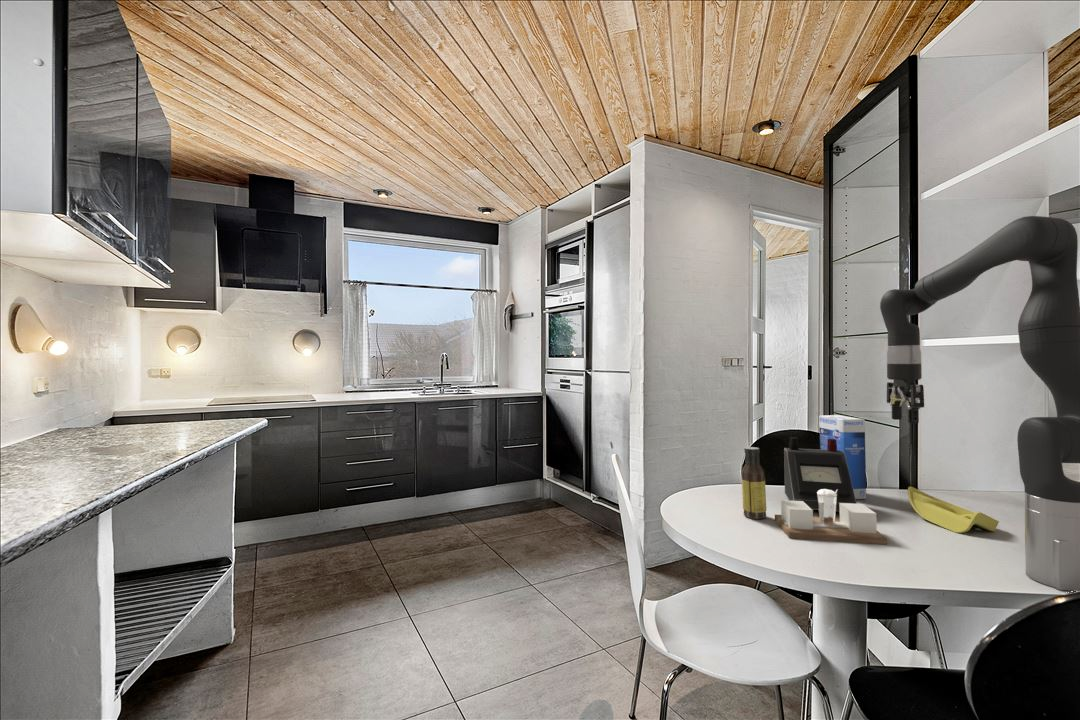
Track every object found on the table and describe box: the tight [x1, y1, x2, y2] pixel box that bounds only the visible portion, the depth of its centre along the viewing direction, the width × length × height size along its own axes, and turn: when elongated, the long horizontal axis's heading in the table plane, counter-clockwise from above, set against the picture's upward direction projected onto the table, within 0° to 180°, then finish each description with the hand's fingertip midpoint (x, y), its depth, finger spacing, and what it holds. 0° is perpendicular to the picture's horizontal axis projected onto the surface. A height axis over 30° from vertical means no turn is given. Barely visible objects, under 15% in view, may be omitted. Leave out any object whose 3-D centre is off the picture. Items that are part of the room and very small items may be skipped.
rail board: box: [774, 514, 888, 545], centre depth 125 cm, size 14×22×2 cm, turn 77°
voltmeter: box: [783, 436, 858, 512], centre depth 146 cm, size 16×16×20 cm
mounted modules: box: [780, 499, 878, 533], centre depth 125 cm, size 8×20×5 cm, turn 77°
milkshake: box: [817, 489, 838, 526], centre depth 125 cm, size 4×5×10 cm
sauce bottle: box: [741, 446, 767, 520], centre depth 138 cm, size 6×6×20 cm
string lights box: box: [818, 414, 867, 500], centre depth 159 cm, size 13×8×26 cm, turn 1°
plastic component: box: [907, 486, 1000, 534], centre depth 132 cm, size 20×7×10 cm
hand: (904, 421), depth 130 cm, fingers open, 8 cm apart
